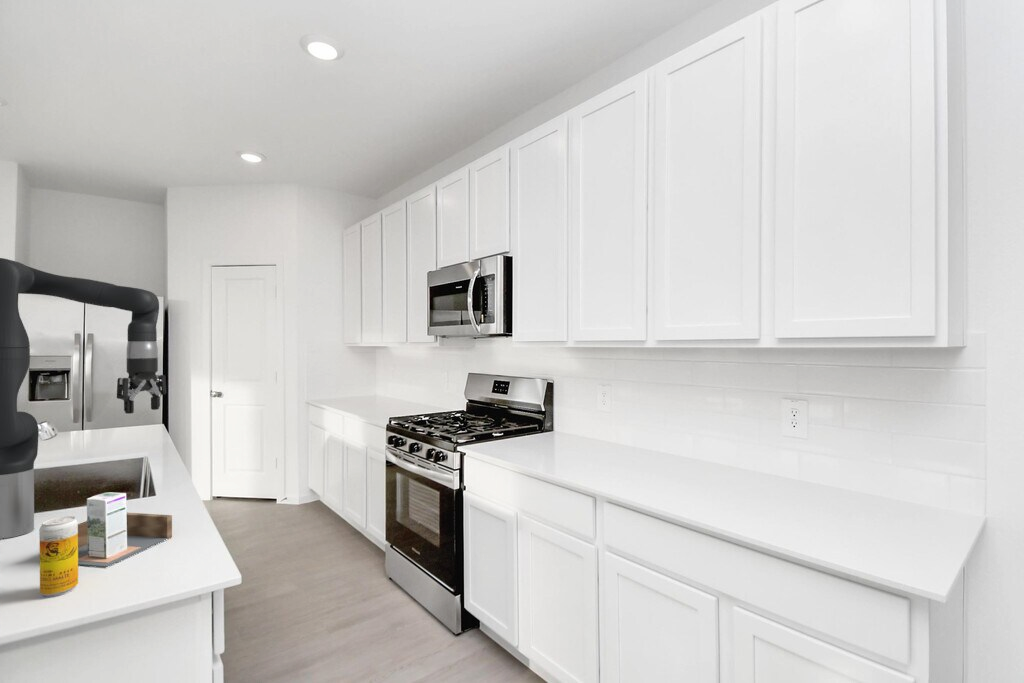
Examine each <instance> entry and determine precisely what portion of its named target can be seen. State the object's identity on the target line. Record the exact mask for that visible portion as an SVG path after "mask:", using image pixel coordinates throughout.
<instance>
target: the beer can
mask: <svg viewBox="0 0 1024 683" xmlns="http://www.w3.org/2000/svg"><path fill="white" fill-rule="evenodd" d="M78 524H79V522H78V520H77V519H76V517H75V516H72V515H65V516H58V517H57V516H56V517H54V518H53V517H52V518H50V519H47V520H44V521H43V522H41V526H40V527H39V530H38V531H39V533H38V534H39V536H38V537H39V593H40V594H41V595H43V596H44V597H48V598H49V597H50V598H51V597H58V596H62V595H65V594H68V593H70V592H72V591H73V590H74V589H75V588H76V587H77V585H78V584H79V565H78Z"/></svg>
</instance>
